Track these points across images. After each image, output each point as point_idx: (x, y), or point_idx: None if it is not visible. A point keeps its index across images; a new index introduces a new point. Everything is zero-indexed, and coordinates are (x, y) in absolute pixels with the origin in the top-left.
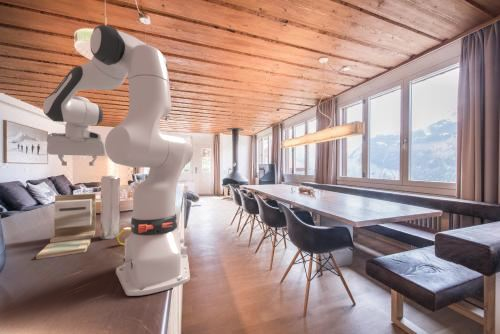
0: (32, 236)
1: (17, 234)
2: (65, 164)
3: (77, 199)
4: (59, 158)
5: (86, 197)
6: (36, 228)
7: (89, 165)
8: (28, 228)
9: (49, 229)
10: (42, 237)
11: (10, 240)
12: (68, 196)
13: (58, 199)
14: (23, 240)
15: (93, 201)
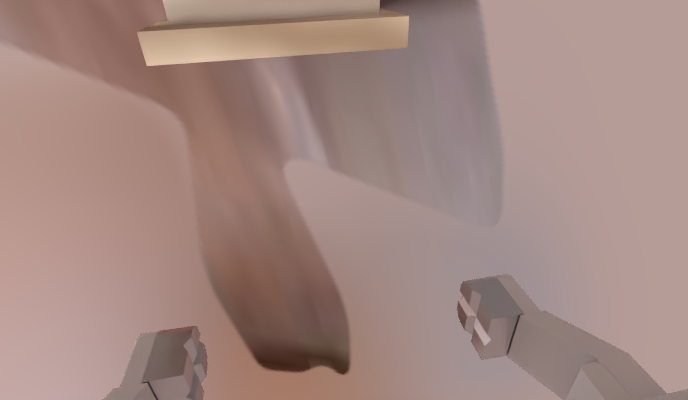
0: (431, 83)
1: (480, 138)
2: (474, 284)
3: (267, 18)
4: (596, 341)
5: (207, 24)
6: (443, 204)
7: (192, 327)
8: (465, 212)
9: (401, 173)
10: None
11: (484, 54)
12: (326, 19)
13: (381, 14)
14: (447, 30)
15: (165, 23)
